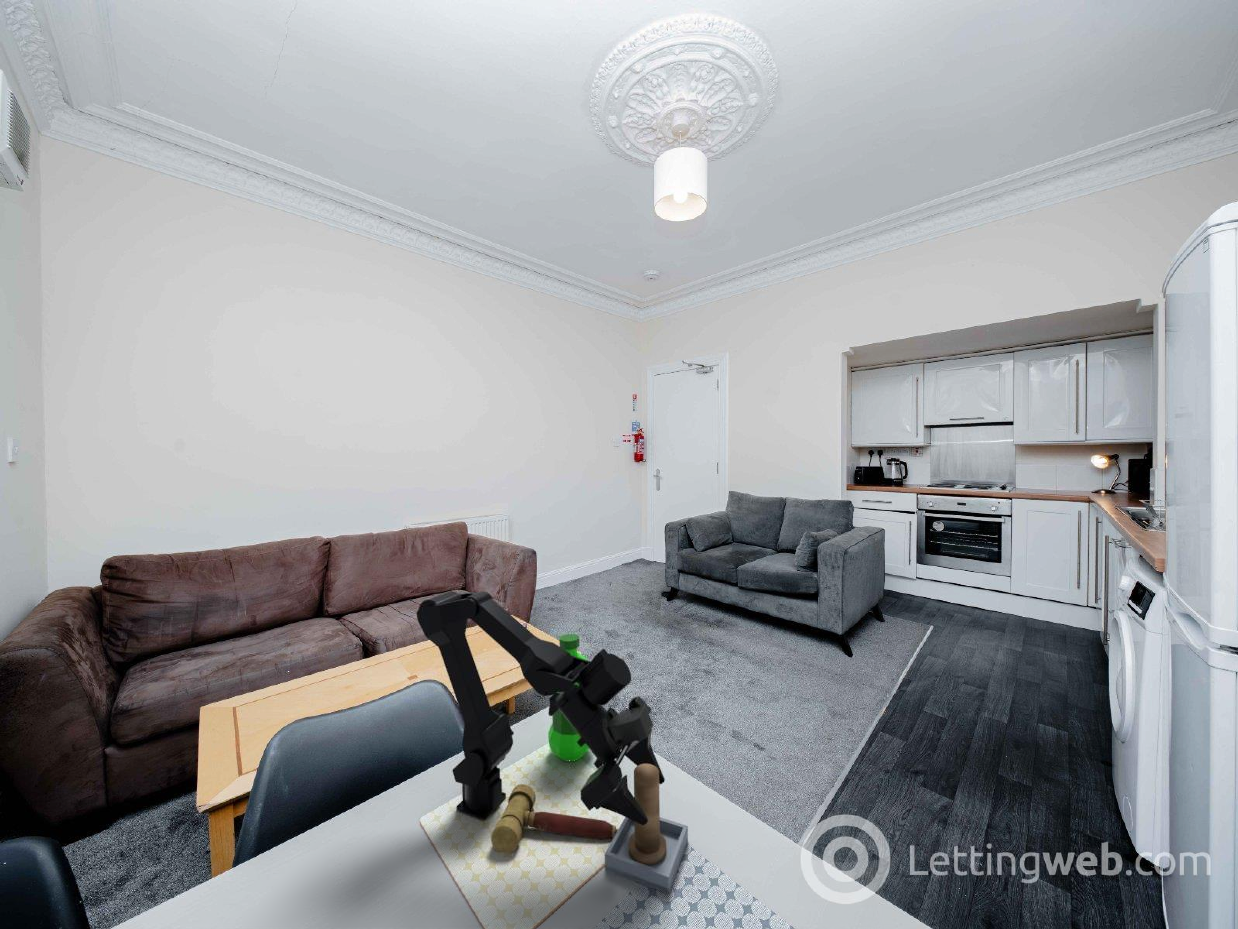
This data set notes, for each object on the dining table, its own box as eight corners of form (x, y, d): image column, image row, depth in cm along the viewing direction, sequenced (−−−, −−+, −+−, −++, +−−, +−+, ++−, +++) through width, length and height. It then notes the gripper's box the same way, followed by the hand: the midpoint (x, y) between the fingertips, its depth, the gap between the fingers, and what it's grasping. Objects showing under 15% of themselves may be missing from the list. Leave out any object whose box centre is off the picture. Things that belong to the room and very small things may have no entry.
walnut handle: (620, 851, 74) (619, 773, 74) (644, 828, 78) (643, 755, 78) (651, 873, 70) (649, 791, 70) (673, 848, 74) (672, 770, 74)
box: (605, 870, 72) (604, 854, 71) (630, 822, 81) (630, 808, 81) (668, 894, 67) (668, 877, 67) (687, 841, 77) (687, 826, 77)
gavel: (626, 797, 83) (620, 844, 73) (625, 823, 83) (618, 873, 73) (512, 782, 85) (491, 824, 75) (511, 806, 85) (489, 852, 75)
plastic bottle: (571, 733, 107) (569, 625, 107) (605, 752, 100) (603, 636, 100) (537, 755, 100) (534, 638, 99) (571, 776, 93) (568, 651, 92)
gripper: (598, 721, 66) (675, 818, 63) (640, 666, 84) (702, 739, 80) (550, 764, 69) (621, 859, 66) (600, 702, 87) (658, 774, 83)
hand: (655, 801), depth 74 cm, fingers open, 9 cm apart
